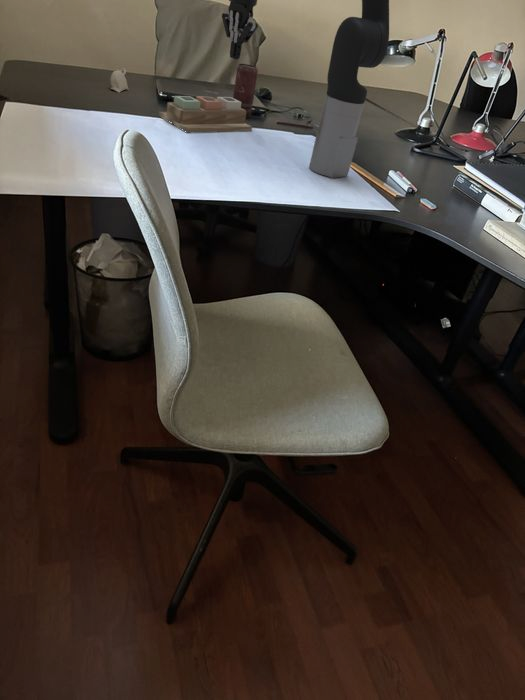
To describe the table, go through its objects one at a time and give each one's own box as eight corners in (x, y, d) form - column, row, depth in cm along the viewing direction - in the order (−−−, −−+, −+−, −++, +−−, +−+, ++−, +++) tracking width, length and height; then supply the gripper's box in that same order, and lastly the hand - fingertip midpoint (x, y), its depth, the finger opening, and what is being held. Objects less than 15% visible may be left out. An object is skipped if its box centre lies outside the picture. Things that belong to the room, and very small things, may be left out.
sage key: (199, 111, 139) (200, 100, 138) (183, 111, 137) (184, 100, 135) (189, 106, 142) (190, 95, 141) (173, 105, 139) (174, 95, 138)
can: (248, 120, 158) (256, 69, 149) (228, 115, 158) (235, 64, 150) (253, 116, 163) (261, 67, 154) (233, 111, 163) (240, 62, 155)
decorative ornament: (106, 89, 156) (106, 70, 153) (119, 86, 163) (120, 67, 159) (118, 93, 155) (118, 73, 152) (131, 89, 162) (132, 70, 159)
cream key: (240, 111, 148) (241, 101, 146) (226, 111, 145) (227, 101, 143) (229, 106, 151) (231, 96, 149) (215, 106, 148) (217, 96, 146)
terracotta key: (220, 111, 144) (221, 101, 142) (205, 111, 141) (206, 100, 139) (210, 106, 146) (211, 95, 145) (195, 106, 143) (196, 95, 142)
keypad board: (251, 131, 149) (254, 114, 146) (186, 133, 135) (188, 114, 133) (223, 115, 156) (225, 100, 154) (158, 116, 143) (159, 98, 140)
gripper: (272, -12, 128) (260, 65, 139) (240, -22, 135) (230, 53, 146) (249, -17, 124) (238, 64, 134) (217, -26, 131) (209, 51, 141)
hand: (234, 58), depth 140 cm, fingers closed
